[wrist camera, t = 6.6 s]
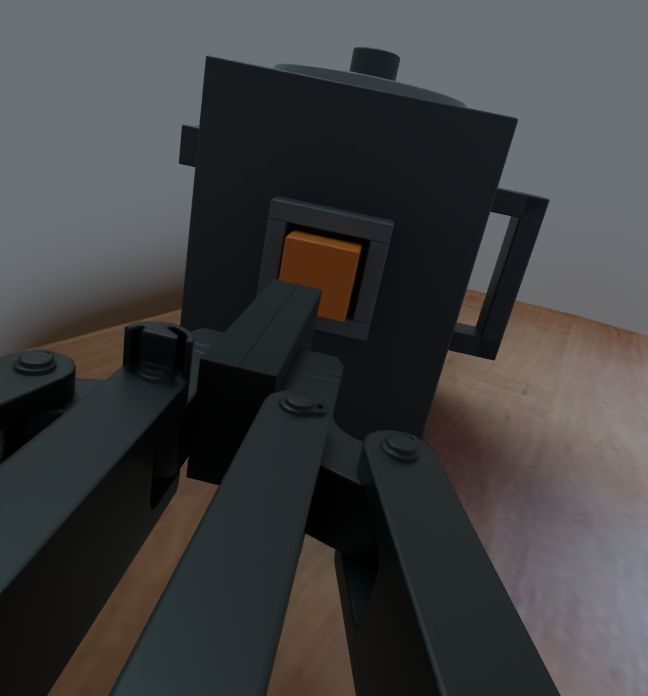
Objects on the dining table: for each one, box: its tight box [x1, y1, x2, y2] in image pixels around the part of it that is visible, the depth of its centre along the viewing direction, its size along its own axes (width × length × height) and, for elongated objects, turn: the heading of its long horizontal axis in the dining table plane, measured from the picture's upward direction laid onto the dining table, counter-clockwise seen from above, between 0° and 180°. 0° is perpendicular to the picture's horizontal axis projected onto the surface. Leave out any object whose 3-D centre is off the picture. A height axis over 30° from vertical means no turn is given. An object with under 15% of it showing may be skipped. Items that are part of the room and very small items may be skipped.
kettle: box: [179, 47, 549, 443], centre depth 30 cm, size 20×15×20 cm
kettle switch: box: [279, 230, 362, 322], centre depth 22 cm, size 3×2×3 cm, turn 83°
